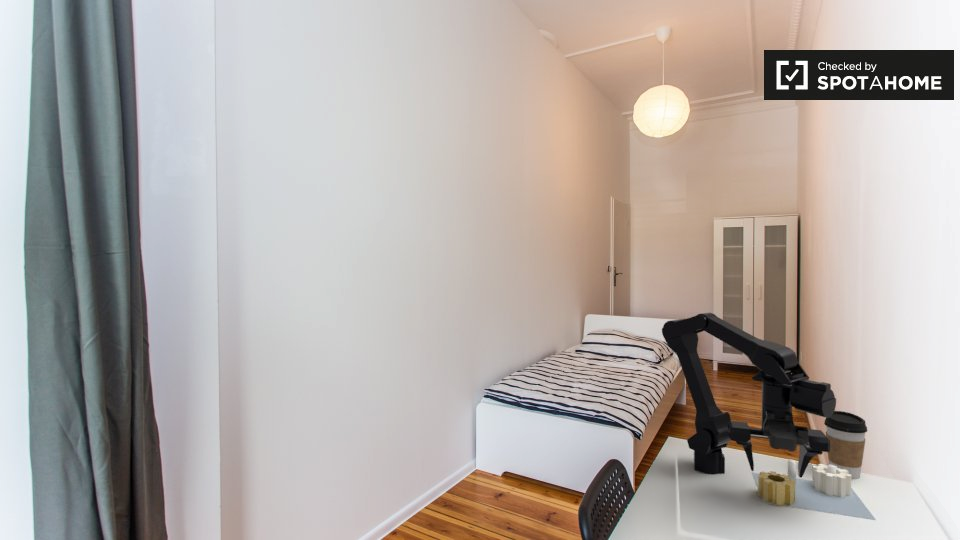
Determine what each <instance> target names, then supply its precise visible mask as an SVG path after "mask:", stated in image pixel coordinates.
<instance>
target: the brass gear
mask: <svg viewBox="0 0 960 540" xmlns="http://www.w3.org/2000/svg"><path fill="white" fill-rule="evenodd" d="M759 474H760V475H758V488H757V496H758V497H760V498H761V497H763V500H764V501H766V502H772V503H776V506H778V507H784V506H783V505H786V504H787V505H789V506H792V505H794V502H795V480H792V479H790V478H789V476H788V474H785V473H783V474H781V473H777V472H776V471H771V470H770V472H766V471H760V472H759Z"/></svg>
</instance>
